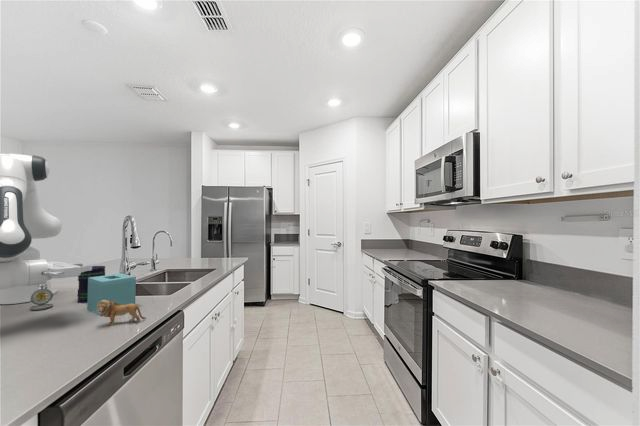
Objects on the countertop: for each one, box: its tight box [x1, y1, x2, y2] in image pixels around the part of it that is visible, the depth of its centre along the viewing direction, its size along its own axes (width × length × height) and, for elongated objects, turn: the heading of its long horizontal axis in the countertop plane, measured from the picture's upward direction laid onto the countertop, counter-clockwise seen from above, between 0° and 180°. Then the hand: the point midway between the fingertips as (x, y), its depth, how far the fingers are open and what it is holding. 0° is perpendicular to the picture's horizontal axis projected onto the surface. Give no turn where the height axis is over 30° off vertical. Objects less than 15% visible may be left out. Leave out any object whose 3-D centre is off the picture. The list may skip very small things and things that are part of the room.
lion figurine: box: [97, 300, 147, 327], centre depth 101 cm, size 15×5×9 cm, turn 118°
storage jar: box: [76, 265, 106, 304], centre depth 130 cm, size 10×10×15 cm
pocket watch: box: [30, 283, 54, 311], centre depth 118 cm, size 8×8×10 cm
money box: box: [86, 272, 137, 316], centre depth 118 cm, size 14×12×13 cm
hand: (86, 266), depth 111 cm, fingers open, 8 cm apart
